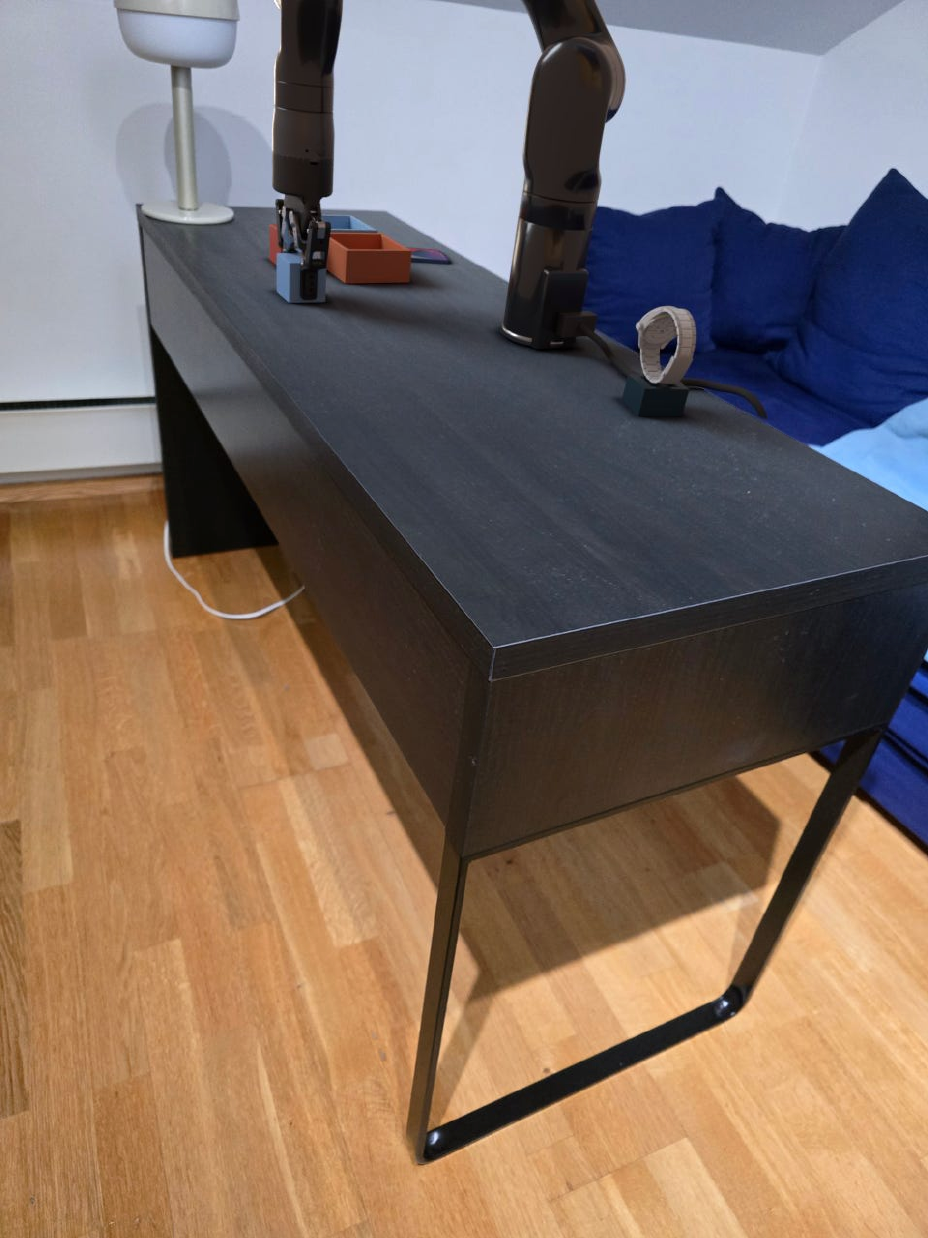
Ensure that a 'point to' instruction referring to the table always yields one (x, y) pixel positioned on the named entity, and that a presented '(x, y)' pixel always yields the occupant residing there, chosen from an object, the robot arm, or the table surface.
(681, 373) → the watch
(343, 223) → the blue bin
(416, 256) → the smartphone
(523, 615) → the table surface
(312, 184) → the robot arm
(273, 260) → the red block
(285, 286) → the blue block
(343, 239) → the orange bin
